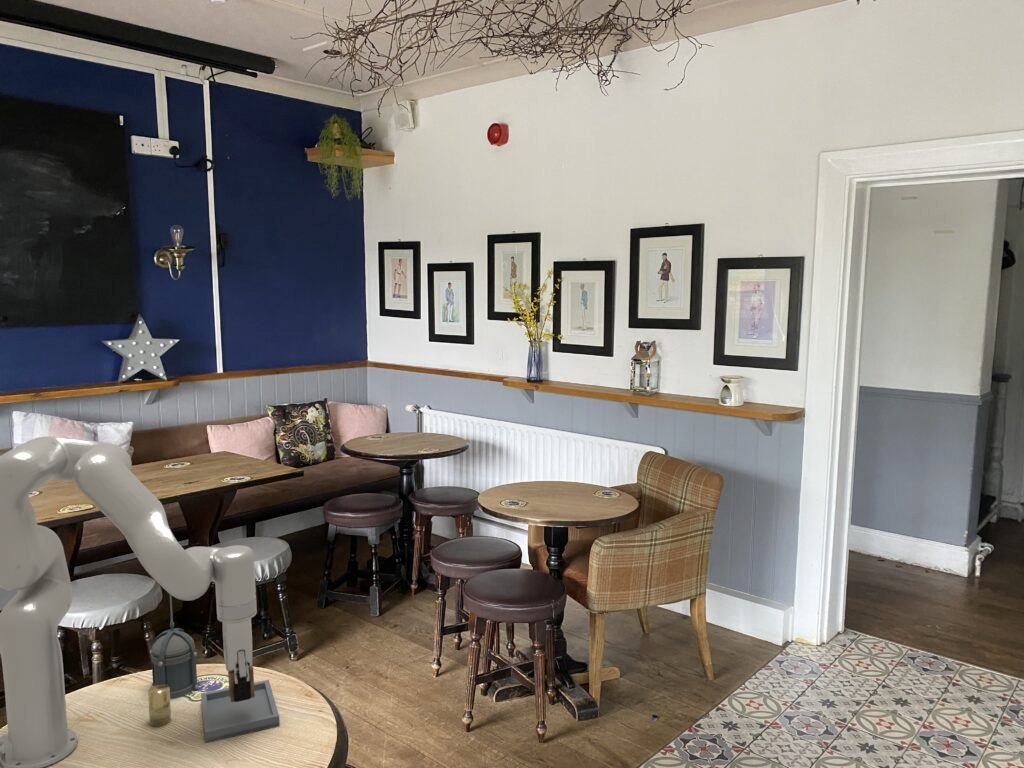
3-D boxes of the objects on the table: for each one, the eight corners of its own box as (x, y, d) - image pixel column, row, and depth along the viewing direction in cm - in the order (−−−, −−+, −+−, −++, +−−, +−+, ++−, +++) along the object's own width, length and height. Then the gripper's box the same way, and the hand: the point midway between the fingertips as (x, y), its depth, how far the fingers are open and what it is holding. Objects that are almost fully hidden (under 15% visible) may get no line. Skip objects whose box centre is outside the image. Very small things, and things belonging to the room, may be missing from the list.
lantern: (209, 677, 173) (204, 551, 169) (185, 702, 162) (178, 568, 159) (165, 675, 174) (159, 550, 170) (138, 699, 163) (131, 566, 160)
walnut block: (231, 702, 150) (229, 674, 150) (229, 691, 154) (227, 664, 154) (254, 697, 152) (253, 669, 152) (252, 686, 156) (250, 659, 156)
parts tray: (205, 742, 147) (204, 732, 147) (201, 703, 162) (200, 693, 162) (279, 726, 153) (279, 715, 153) (269, 689, 168) (268, 679, 167)
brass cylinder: (149, 728, 152) (147, 696, 151) (149, 718, 156) (148, 686, 155) (171, 724, 154) (169, 691, 153) (171, 714, 158) (169, 682, 157)
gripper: (214, 596, 157) (218, 678, 159) (219, 628, 142) (225, 719, 144) (251, 590, 160) (256, 671, 162) (261, 620, 145) (265, 709, 147)
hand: (241, 692), depth 153 cm, fingers closed on walnut block, 4 cm apart
